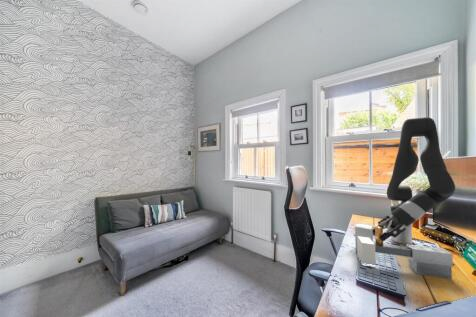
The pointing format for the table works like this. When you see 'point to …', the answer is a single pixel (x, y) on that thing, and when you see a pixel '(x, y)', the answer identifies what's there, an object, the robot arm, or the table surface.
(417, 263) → the grey sleeve
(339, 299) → the table surface
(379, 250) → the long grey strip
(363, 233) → the supplement box
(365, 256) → the socket block
